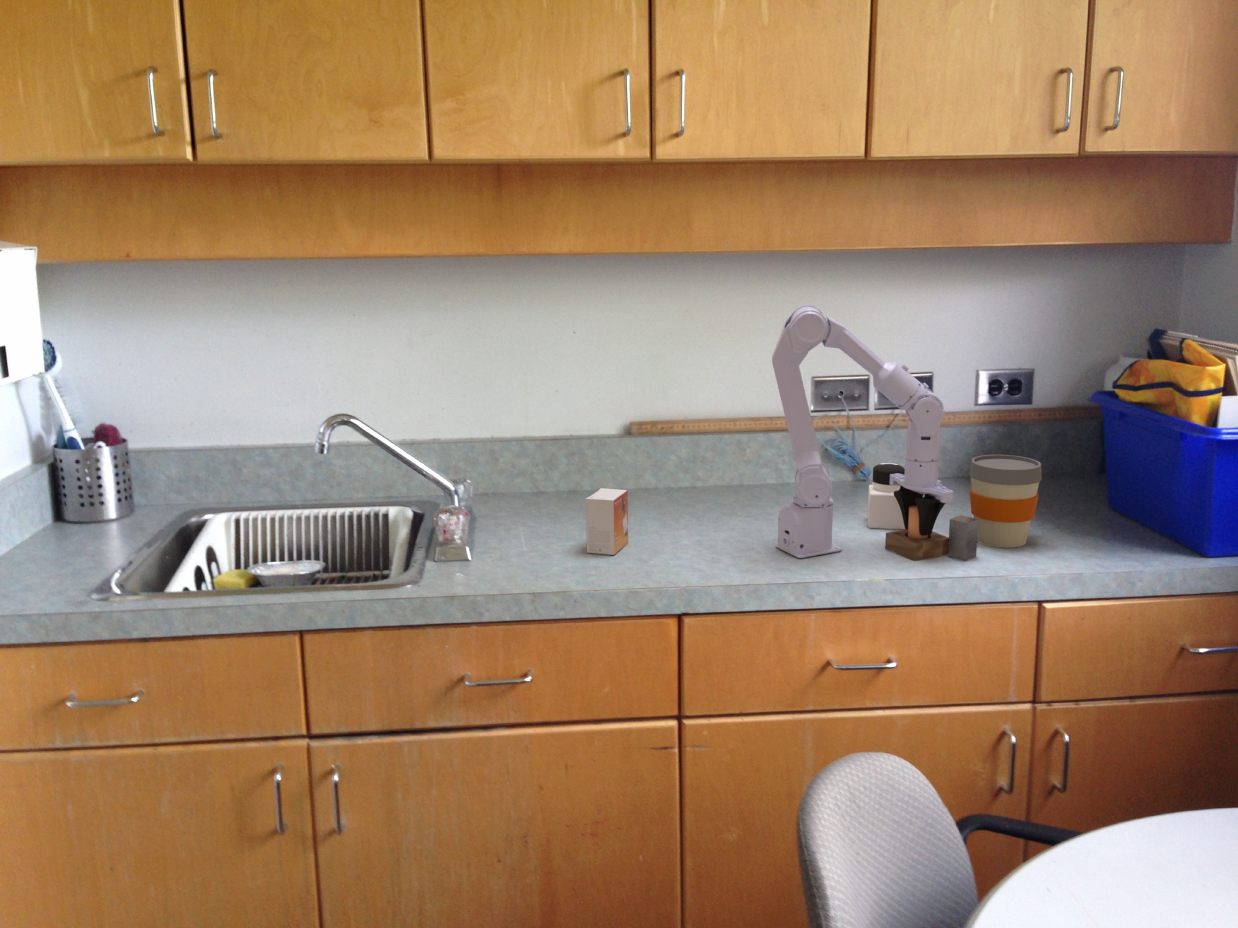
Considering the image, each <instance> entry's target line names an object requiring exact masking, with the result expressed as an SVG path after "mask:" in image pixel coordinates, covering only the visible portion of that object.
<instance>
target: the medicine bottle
mask: <svg viewBox="0 0 1238 928" xmlns="http://www.w3.org/2000/svg"><path fill="white" fill-rule="evenodd" d="M897 473H899V474H903V475H905V467H903V466H902V465H900V464H897V463H892V462H891V463H889V462H888V463H887V462H885V463H883V462H882V463H878V464H876V465H875V466H873V468H872V484H869V485H868V495H867V496H868V498H867V525H868V528H869V529H882V530H904V529H905V526H904V522H903V517H902V513H901V509H900V506H899V504H898V502H897V500H896V498H895V496H894V491H898V490H899V489H900V486H897V485H890V474H897Z"/></svg>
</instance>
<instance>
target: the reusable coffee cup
mask: <svg viewBox="0 0 1238 928" xmlns="http://www.w3.org/2000/svg"><path fill="white" fill-rule="evenodd" d="M968 476H969V477H970V480H971V487H970V488H969V499H970V501H969V502H970V513H971V514H972V515H973V518H976V519H979V521H978V536H977V543H980V544H982V545H985V546H988V547H989V546H990V547H997V548H1008V549H1009V548H1018V547H1022V546H1024V545H1026V544H1027V539H1028V534H1029V529H1030V525H1031V521H1032V520H1033V519H1034V517H1035V515H1036V514H1035V513H1036V510H1037V509H1036V508H1037V503H1038V500H1039V496H1040V495H1039V492H1038V489H1039V485H1040V482H1041V481H1042V479H1043V478H1042V463H1041V462H1040V461H1038V460H1036V459H1034V458H1030V457H1026V456H1025V457H1024V456H1018V455H1010V454H985V455H978V456H974V457H973V458H971V462H970V467H969V473H968Z"/></svg>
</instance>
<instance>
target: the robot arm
mask: <svg viewBox="0 0 1238 928" xmlns="http://www.w3.org/2000/svg"><path fill="white" fill-rule="evenodd" d="M821 343H822V345H823V346H824V347H825V348H831V349H837V350H838V349H839V350H841V351H842V353H844V354H845V355H847V356H848V357H849V358H850V359H851V360H853V362H855V363H856V364H858V365H859V366H861V368H863V369H864V370H865V371H867V372H868V373H869V374H870V375H871V376H872V382H873V383H872V384H873V388H875V389H876V390H877V391H878V392H880V393H881V394H882V395H883V396H884V397H885V398H887V399H888V400H889V401H890V402H891V403H893V404H894V405H895V406H896V407H897V408H898V409H900V410H904V411H905V414H906V415H907V416H908V418H907V419H908V420H907V431H906V437H905V438H906V439H905V456H904V457H905V458H904V459H905V460H904V469H905V475H903V474H899V473H897V474H890V485H897V486H900V489H899V490H898V491H894V496H895V498H896V500H897V502H898V504H899V506H900V509H901V513H902V517H903V522H904V526H905V529H906V530H908V520H909V507H910V506H913V505H917V508H918V513H919V532H920V535H922V536H925V535H931V533H932V531H934V530H933V529H934V526H935V523H936V521H937V518H938V516H939V514H940V512H941V511H942V509H943V508H944V506H945V505H946V504H947V503H952V502H954V490H952V489H949V488H948V487H946V486H944V485H943V484H942V480H939V479H938V477H939V464H940V463H939V460H940V447H941V446H940V442H941V434H940V429H941V422H942V421H943V419H944V417H945V415H946V410H945V409H944V405H943V402H942V400H941V399H940V398H939V397H938V396H937V395H936V394H935V393H933V391H932V390H931V389H930V388H929V385H928V384H927V383H926V382H923V383H922V382H921V381H919V380H918V379H917V378H916V377H914V376H913V375H912V374H911V373H910V371H909V367H908V366H907V365H906V364H905V363H901V364H899V363H898V362H897V361H884V360H883V359H882V358H881V357H879V356H878V355H877V354H876V352H874V351H873V350H872V349H871V348H870V347H868V346H867V344H866V343H864V342H863V341H862V340H860V338H858V337H857V336H856V334H854V333H853V332H852V331H851V330H850V329H848V328H847V327H846V326H845V325H843V324H842V323H840V322H838V321H837V320H836V319H834V318H832V316H829V315H828V314H825V315H824V314H823V312H822V311H821V310H820V309H819V308H818V307H816V306H814V305H811V304H810V305H809V304H806V305H802V306H799V307H797V308H796V309H795V310H793V312H792V313H791V314H790V315H789V317H788V318H786V320H785V322H784V323H783V326H782V330H781V332H780V335H779V337H778V341H777V343H776V346H775V348H774V350H773V353H772V356H771V361H772V362H771V363H772V369H773V370H774V376H775V380H776V383H777V389H778V392H779V398H780V401H781V405H782V410H783V413H784V418H785V422H786V427H787V430H788V435H789V438H790V443H791V446H792V452H793V455H794V459H795V460H794V461H795V465H796V470H795V473H794V474H795V475H794V480H795V483H796V492H797V493H796V494H795V495H793V496H792V497H793V498H792V502H791V503H790V504H788V505H784V506H782V508H781V509H780V510H779V513H778V518H777V521H778V523H777V543H775V547H776V548H778V549H779V550H782V551H783V552H786V553H787V554H789V555H792V556H793V557H796V558H798V559H804V558H810V557H814V556H820V555H825V554H831V553H836V552H841V551H842V550H843V548H842V547H840V546H838V545H836V544H833V519H834V518H833V517H834V499H833V498H832V495H833V493H834V492H833V491H834V485H833V483H832V480H831V478H830V477H831V476H830V472H829V469H828V468H827V466H826V465H825V464H824V463H823V461H822V459H821V455H820V450H819V447H818V442H817V438H816V433H815V430H814V425H813V421H812V420H813V419H812V417H811V412H810V408H809V404H808V399H807V394H806V389H805V387H804V382H803V377H802V372H801V368H800V365H801V364H802V362H803V361H804V359H805V358H806V357H807V356H808V354H809V352H810V351H812V350H814V349H815V348H816V347H817V346H819V345H820V344H821Z"/></svg>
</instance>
